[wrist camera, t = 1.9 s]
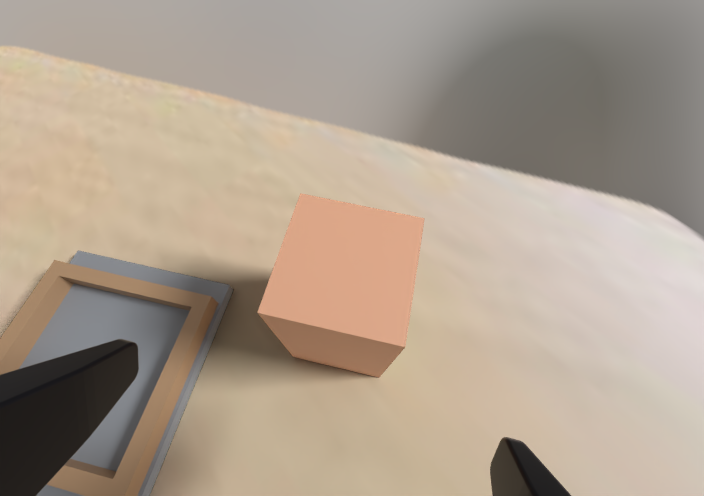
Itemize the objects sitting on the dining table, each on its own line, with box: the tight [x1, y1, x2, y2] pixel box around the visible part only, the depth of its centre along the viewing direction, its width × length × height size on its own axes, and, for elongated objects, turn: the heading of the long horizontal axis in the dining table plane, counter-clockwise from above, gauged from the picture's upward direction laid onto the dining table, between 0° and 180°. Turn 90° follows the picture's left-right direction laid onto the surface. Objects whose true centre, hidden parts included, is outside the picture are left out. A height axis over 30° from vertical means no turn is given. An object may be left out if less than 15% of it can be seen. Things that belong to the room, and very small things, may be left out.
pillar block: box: [257, 193, 425, 378], centre depth 16 cm, size 5×5×9 cm
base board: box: [0, 251, 233, 496], centre depth 18 cm, size 12×10×2 cm
